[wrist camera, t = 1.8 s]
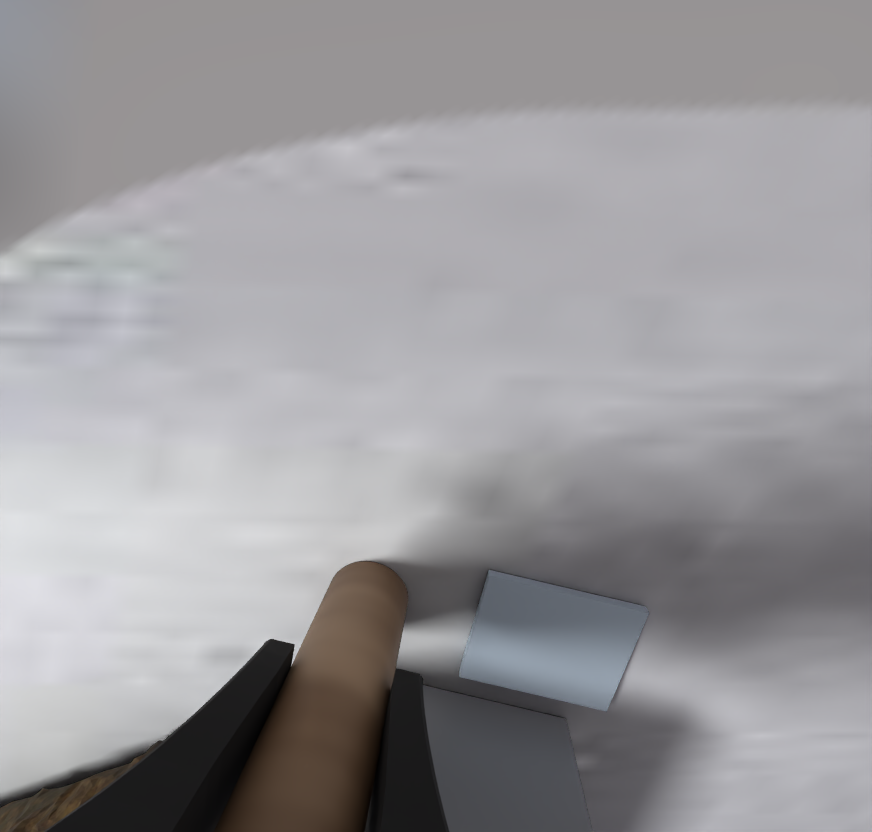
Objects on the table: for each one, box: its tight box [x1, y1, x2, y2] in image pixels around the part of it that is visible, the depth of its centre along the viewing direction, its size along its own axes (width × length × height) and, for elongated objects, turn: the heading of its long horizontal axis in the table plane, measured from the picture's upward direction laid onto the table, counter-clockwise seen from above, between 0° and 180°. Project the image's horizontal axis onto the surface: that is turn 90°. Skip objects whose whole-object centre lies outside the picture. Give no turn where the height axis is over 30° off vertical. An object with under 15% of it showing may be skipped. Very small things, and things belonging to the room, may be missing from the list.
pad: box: [459, 570, 649, 712], centre depth 14 cm, size 4×5×1 cm
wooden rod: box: [214, 561, 408, 832], centre depth 10 cm, size 3×3×9 cm
